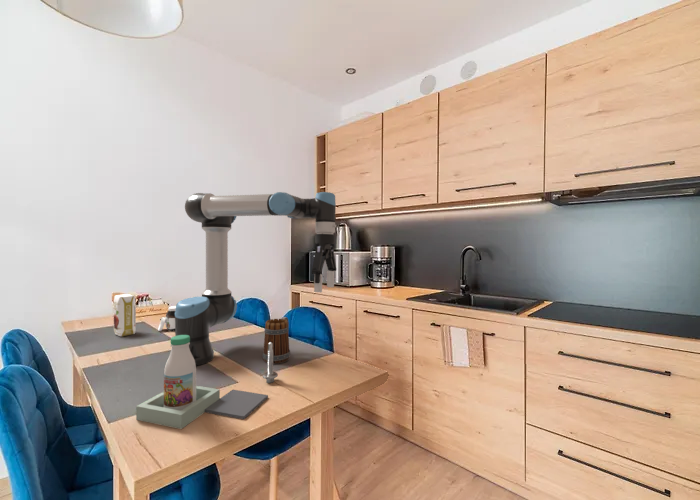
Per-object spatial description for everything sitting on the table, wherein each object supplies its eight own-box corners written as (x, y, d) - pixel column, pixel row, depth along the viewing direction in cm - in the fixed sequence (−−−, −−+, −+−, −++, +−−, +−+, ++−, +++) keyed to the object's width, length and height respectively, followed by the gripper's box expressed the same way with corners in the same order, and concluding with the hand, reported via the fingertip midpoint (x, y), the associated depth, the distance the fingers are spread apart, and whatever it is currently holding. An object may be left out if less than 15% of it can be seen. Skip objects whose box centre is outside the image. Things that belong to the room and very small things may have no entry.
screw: (277, 377, 107) (278, 383, 102) (262, 379, 106) (262, 385, 101) (277, 339, 107) (278, 343, 102) (262, 340, 105) (262, 344, 101)
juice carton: (130, 330, 160) (130, 293, 160) (137, 333, 155) (137, 295, 154) (112, 334, 154) (112, 295, 153) (119, 337, 149) (119, 297, 148)
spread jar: (188, 329, 164) (188, 306, 164) (166, 334, 155) (166, 310, 155) (175, 325, 171) (175, 304, 171) (153, 330, 161) (153, 307, 161)
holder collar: (136, 419, 81) (136, 406, 81) (179, 394, 94) (179, 382, 94) (181, 429, 77) (181, 414, 77) (219, 401, 91) (219, 389, 90)
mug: (283, 365, 118) (283, 325, 117) (257, 362, 120) (257, 323, 119) (298, 351, 133) (299, 315, 133) (275, 349, 135) (275, 314, 135)
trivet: (204, 412, 85) (204, 409, 85) (232, 392, 96) (232, 389, 96) (243, 419, 82) (243, 416, 82) (267, 397, 93) (267, 395, 93)
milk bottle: (172, 403, 89) (172, 332, 89) (200, 402, 90) (200, 332, 89) (157, 418, 81) (157, 341, 81) (189, 417, 82) (189, 340, 82)
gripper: (323, 232, 107) (322, 295, 108) (344, 234, 131) (343, 285, 132) (302, 232, 109) (302, 293, 110) (326, 234, 133) (326, 284, 134)
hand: (324, 289), depth 121 cm, fingers open, 13 cm apart
